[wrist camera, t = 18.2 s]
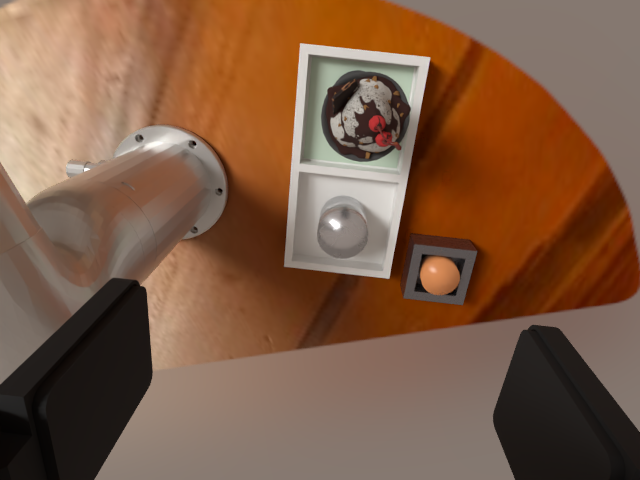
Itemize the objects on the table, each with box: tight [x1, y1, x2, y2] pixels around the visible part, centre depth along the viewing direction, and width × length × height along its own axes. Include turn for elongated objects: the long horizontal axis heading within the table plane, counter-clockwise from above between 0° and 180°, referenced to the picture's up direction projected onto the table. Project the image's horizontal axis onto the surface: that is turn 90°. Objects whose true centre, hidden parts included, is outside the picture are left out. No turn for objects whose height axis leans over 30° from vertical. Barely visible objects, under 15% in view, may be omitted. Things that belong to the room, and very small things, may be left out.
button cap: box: [418, 255, 460, 295], centre depth 47 cm, size 4×4×2 cm
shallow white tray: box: [284, 43, 430, 279], centre depth 44 cm, size 12×22×3 cm, turn 174°
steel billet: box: [317, 195, 368, 259], centre depth 44 cm, size 5×5×5 cm
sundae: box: [321, 70, 411, 162], centre depth 35 cm, size 7×7×15 cm
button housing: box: [400, 233, 477, 305], centre depth 48 cm, size 7×7×3 cm
